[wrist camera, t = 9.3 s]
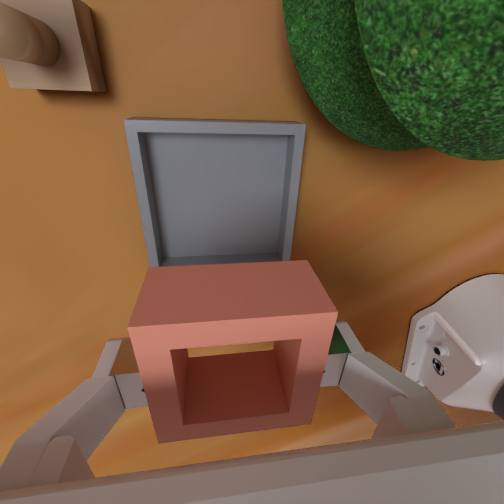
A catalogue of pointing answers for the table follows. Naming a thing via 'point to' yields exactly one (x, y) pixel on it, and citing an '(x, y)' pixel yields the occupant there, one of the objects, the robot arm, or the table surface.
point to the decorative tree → (405, 71)
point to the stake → (49, 45)
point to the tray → (216, 188)
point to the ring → (227, 333)
